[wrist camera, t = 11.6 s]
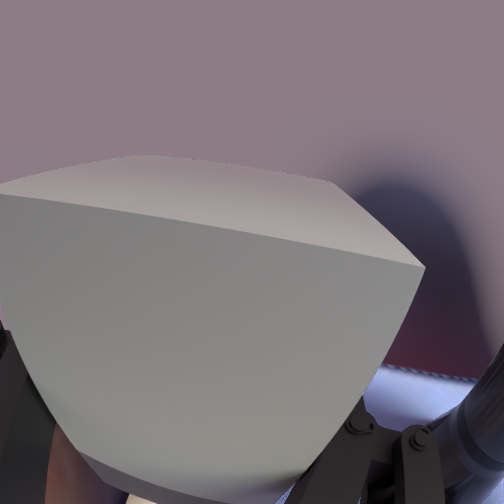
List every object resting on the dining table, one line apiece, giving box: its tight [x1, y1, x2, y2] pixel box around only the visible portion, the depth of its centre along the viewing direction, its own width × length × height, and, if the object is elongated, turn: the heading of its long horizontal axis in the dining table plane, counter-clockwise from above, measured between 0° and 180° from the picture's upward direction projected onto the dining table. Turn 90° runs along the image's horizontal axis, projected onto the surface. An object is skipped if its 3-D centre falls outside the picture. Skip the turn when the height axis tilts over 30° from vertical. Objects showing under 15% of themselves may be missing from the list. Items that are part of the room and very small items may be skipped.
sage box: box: [0, 155, 425, 504], centre depth 9 cm, size 7×7×13 cm
